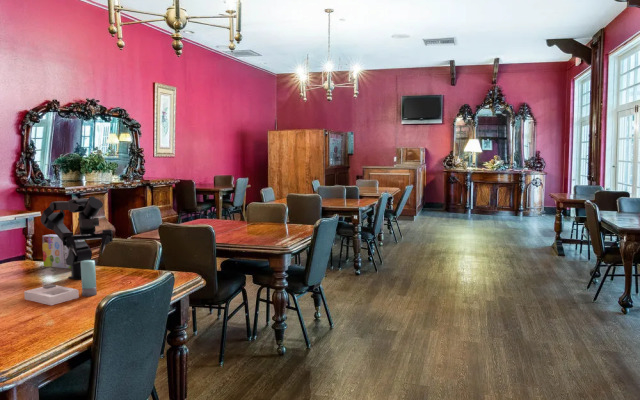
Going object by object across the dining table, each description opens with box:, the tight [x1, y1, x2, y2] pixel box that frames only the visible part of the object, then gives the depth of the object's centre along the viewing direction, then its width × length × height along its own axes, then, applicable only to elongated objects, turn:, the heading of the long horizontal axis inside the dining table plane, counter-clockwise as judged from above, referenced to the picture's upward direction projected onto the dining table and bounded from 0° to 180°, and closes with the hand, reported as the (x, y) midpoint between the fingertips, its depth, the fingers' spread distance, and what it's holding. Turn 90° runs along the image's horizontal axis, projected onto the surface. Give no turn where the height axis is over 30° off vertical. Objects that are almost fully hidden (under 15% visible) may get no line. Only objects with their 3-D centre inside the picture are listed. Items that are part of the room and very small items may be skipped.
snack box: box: [41, 233, 86, 270], centre depth 242 cm, size 21×6×15 cm, turn 71°
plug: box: [80, 259, 98, 298], centre depth 195 cm, size 5×5×13 cm
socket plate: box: [23, 284, 80, 306], centre depth 191 cm, size 16×11×4 cm
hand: (89, 254), depth 204 cm, fingers open, 9 cm apart
